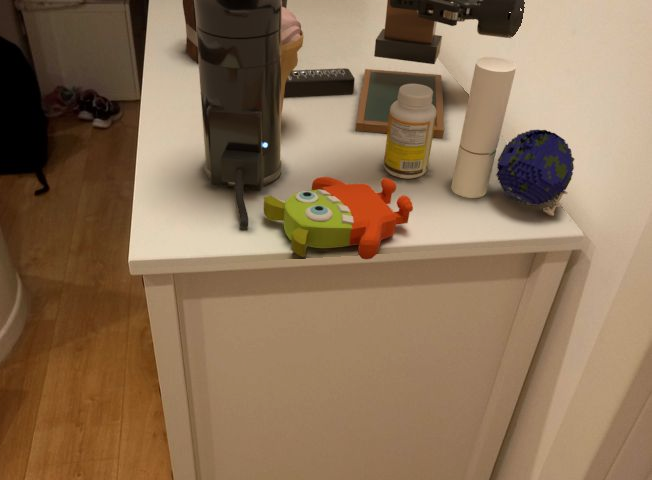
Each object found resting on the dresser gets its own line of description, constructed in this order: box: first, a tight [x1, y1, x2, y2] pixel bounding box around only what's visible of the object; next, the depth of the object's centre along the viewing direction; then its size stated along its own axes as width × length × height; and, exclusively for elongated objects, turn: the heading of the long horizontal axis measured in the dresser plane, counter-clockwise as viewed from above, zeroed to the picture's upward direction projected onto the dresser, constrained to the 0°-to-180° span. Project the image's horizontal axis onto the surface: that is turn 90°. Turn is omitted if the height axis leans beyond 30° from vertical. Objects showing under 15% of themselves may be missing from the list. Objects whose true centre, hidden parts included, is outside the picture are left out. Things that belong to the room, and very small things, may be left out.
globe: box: [496, 129, 575, 217], centre depth 79 cm, size 8×8×8 cm
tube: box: [450, 56, 517, 199], centre depth 79 cm, size 4×4×15 cm
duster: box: [373, 0, 443, 65], centre depth 99 cm, size 5×9×10 cm, turn 73°
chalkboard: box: [355, 68, 445, 139], centre depth 102 cm, size 20×12×1 cm, turn 173°
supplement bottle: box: [383, 84, 437, 179], centre depth 84 cm, size 6×6×10 cm
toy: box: [263, 176, 414, 260], centre depth 75 cm, size 15×4×15 cm
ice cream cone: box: [281, 7, 304, 116], centre depth 89 cm, size 11×11×20 cm
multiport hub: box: [284, 67, 356, 98], centre depth 104 cm, size 4×11×2 cm, turn 101°
